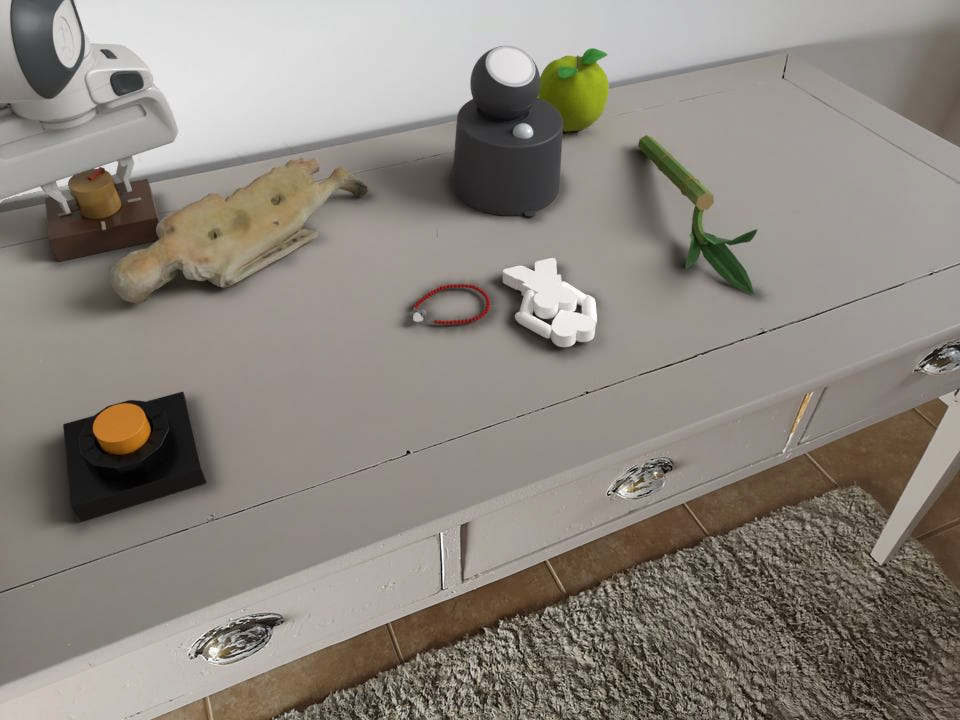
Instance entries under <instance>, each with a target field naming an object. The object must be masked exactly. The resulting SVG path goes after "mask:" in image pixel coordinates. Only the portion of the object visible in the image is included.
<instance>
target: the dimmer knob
mask: <svg viewBox="0 0 960 720" xmlns="http://www.w3.org/2000/svg"><path fill="white" fill-rule="evenodd" d="M111 175H112V174H111V173H110V171H108V170H106V169H105V167H103V166H100V167H97V168H94V169H91V170H88V171H85V172H82V173H79V174H76V175H73V176H70V178H69V179H68V181H67V186H68V190H69V191H70V192H71V194H72V195H73V196H74V197H75V199H76V201H77V205H78V206H79V209H80V210H78V211H79V213H80V214H81V215H82V216H83V217H85V218H89V219H101V218H105V217H108V216H111V215H113V214H114V213H116V212H117V211H118V210H119V209H120V207H121V201H120V198H119V195H118V192H117V190H116V187H115V184H114V181H113V179H112V176H111Z"/></svg>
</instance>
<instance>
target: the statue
mask: <svg viewBox="0 0 960 720" xmlns="http://www.w3.org/2000/svg"><path fill="white" fill-rule="evenodd" d="M319 171H320V163H319V162H318V160H317V158H316V157H312V158H311V159H308V160H305V158H303V157H299V158H298V159H290V160H288V161H287V162H286V163H285V164H283V165H279V166H275V167H273V168H272V169H271V170H270V171H268V172H266V173H264V174H262V175H260V176H258V177H256V178H255V179H253V180H252V181H251V182H250V183H249V184H248V185H246V186H245V187H238V188H237V189H235V191H234V192H233V193H230V194H228V195H227V196H226V197H225V199H223V197H222V196H221V195H220V194H219V193H213V192H211V193H208V194H207V195H206V196H203V197H202V198H201V199H199V200H197V201H195V202H191V203H190V204H187V205H185V206H184V207H183V208H181V209H178V210H176V211H172V212H171V213H169V214H167V215H166V216H165V217H163V218H161V220H160V222H159V223H158V224H157V227H156V232H157V235H158V237H159V240H157V241H153V243H152V244H151V245H149V246H148V247H146V248H141V249H138V250H132V251H131V252H129V253H128V254H126V255H125V256H123V257H122V258H119V260H117V262H115V263H114V265H113V266H112V267H111V268H110V270H109V279H110V283H111V285H112V286H111V287H112V288H113V290H114V292H115V293H116V294H118V296H119V297H120V298H121V299H122V300H124V301H125V302H128V303H134V304H136V305H138V304H142V303H144V302H146V301H147V299H148V298H149V296H150V295H151V294H152V293H153V292H154V291H156V290H158V289H160V288H162V287H163V286H164V285H165V284H167V283H169V282H171V281H172V280H174V279H176V278H177V276H178V273H179V272H180V271H181V272H182V274H183V276H184V278H185V279H186V280H190V281H197V282H198V281H199V282H204V281H207V282H210V283H211V284H213V285H215V286H216V287H219V288H227V289H228V288H230V287H231V286H232V285H235V284H237V283H238V282H241V281H242V280H244V279H245V278H247V277H249V276H251V275H253V274H254V273H256V272H258V271H260V270H262V269H264V268H266V267H267V266H269V265H270V264H272V263H274V262H276V261H278V260H280V259H282V258H284V257H285V256H287V255H289V254H290V253H292V252H293V251H295V250H297V249H298V248H300V247H301V246H303V245H305V244H307V243H309V242H310V241H312V240H314V239H315V238H316V239H317V238H318V237H319V232H318V231H316V230H311V229H307V228H303V226H304V225H305V223H306V222H307V221H308V219H309V218H311V216H313V215H314V214H315V213H316V212H317V211H318V210H319V209H320V208H321V207H322V206H323V205H324V204H325V203H326V201H327V200H328V199H329V198H330V196H332V195H333V193H335V192H336V191H338V190H343V191H346V192H349V193H351V194H352V195H353V196H354V197H365V196H366V195H367V193H368V192H369V189H368V185H367V184H365V183H364V181H362V180H361V179H359V178H357V177H355V176H354V175H353V174H352V173H350V172H349V171H348V170H346V169H344V168H343V167H342V166H341V167H339V166H338V167H336V168H335V169H334V170H333V171H332V173H331V174H330V175H329V176H328V177H327V178H326V179H325V180H323V181H322V182H320V183H318V181H316V180H315V176H313V175H314V174H316V173H318V172H319Z"/></svg>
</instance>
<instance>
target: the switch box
mask: <svg viewBox="0 0 960 720" xmlns="http://www.w3.org/2000/svg"><path fill="white" fill-rule="evenodd" d="M123 403H128V404H134V405H137V406H138V407H140V408H141V409H142V410H143V411H144V413H145V416H146V418H147V420H148V422H149V425H150V427H151V433H150V436H149V439H148V440H147V442H146V443H145V444H144V445H143V446H142V447H140V448H139V449H137V450H136V451H134V452H131V453H128V454H123V455H114V454H110V453H108V452H106V451H104V450H103V449H102V447H101V446H100V444H99V442H98V440H97V438H96V436H95V435H94V432H93V424H94V421H95V419H96V418H97V417H98V415H99V414H100V413H101V412H103V411H104V410H106V409H107V408H109V407H111V406H114V405H117V404H123ZM191 413H192V412H191V409H190V405H189V402H188V401H187V397H186V395H185V392H184V391H179V392H176V393H173V394H168V395H165V396H160V397H157V398H154V399H150V400H146V401H145V400H137V399H129V400H125V401H121V402H117V403H113V404H110V405H107V406H105V407H104V408H103V409H102V410H100V411H98V412H97V413H95V414H93V415H92V416H91V415H90V416H88V417H84V418H80V419H77V420H73V421H69V422H66V423H63V424H62V429H63V437H64V438H63V440H64V449H65V460H66V461H65V462H66V470H67V481H68V482H67V483H68V491H69V493H68V494H69V503H70V509H71V511H72V512H73V513H74V515H75V516H76V518H77V519H78V521H79V522H80V523H82V522H86V521H89V520H92V519H96V518H99V517H102V516H105V515H108V514H111V513H115V512H118V511H121V510H124V509H127V508H130V507H134V506H138V505H140V504H143V503H147V502H151V501H154V500H156V499H160V498H163V497H166V496H169V495H172V494H173V495H174V494H176V493H179V492H182V491H186V490H189V489H192V488H196V487H199V486H203V485H206V484H207V477H206V473H205V469H204V465H203V461H202V456H201V452H200V447H199V443H198V440H197V434H196V431H195V426H194V422H193V418H192V417H193V416H192V414H191Z"/></svg>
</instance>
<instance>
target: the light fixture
mask: <svg viewBox="0 0 960 720" xmlns="http://www.w3.org/2000/svg"><path fill="white" fill-rule="evenodd" d="M540 77H541V74H540V71H539V68H538V66H537V64H536V62H535V61H534V59H533V58H532V57H531V56H530V54H528V53H527V52H526V51H525V50H523V49H522V48H520V47H516V46H512V45H501V46H499V45H498V46H496V47H493V48H491V49H489V50H487V51H486V52H485V53H483V54H482V55H481V56H480V57H479V58H478V59H477V61H476V62H475V63H474V66H473V68H472V71H471V75H470V79H469V80H470V81H469V82H470V83H469V85H470V87H469V88H470V93H471V97H472V99H470V100H468V101H467V102H465V103H464V104H463V105H462V106H461V107H460V108H459V110H458V113H457V116H456V128H455V137H454V138H455V139H454V152H453V162H452V163H453V165H452V174H451V175H452V176H451V185H452V190H453V192H454V193H455V194H456V196H457V197H458V198H459V200H461V201H462V202H463V203H464V204H466V205H467V206H469V207H471V208H473V209H475V210H478V211H480V212H484V213H488V214H491V215H497V216H510V217H512V216H514V217H515V216H522V215H524V216H525V217H527V218H532V217H536V215H537V212H538V211H541V210H543V209H545V208H546V207H548V206H549V205H550V204H552V203H553V202H554V200H555V199H556V198H557V197H558V194H559V192H560V182H561V181H560V180H561V165H562V150H563V149H562V148H563V135H564V134H563V133H564V131H563V119H562V116H561V114H560V113H559V111H558V110H557V109H556V108H555V107H553V106H552V105H551V104H549V103H548V102H546V101H544V100H542V99H539V98H538V95H539V92H540Z"/></svg>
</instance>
